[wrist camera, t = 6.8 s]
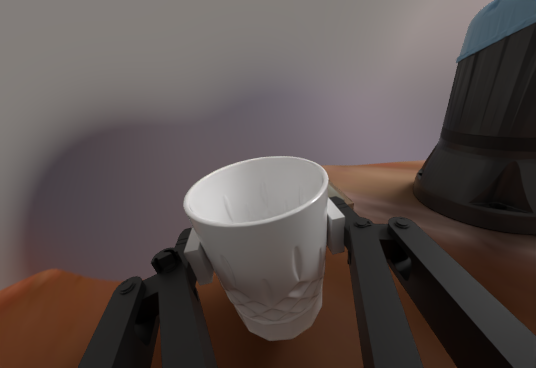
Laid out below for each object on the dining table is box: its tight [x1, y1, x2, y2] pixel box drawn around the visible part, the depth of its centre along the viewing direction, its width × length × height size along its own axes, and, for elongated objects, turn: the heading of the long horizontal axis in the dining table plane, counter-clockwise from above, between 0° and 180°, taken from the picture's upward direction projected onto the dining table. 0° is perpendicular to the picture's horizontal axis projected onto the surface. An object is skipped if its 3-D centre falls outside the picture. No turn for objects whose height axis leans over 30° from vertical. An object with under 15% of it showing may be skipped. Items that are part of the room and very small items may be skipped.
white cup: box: [183, 156, 328, 341], centre depth 13 cm, size 8×8×10 cm
